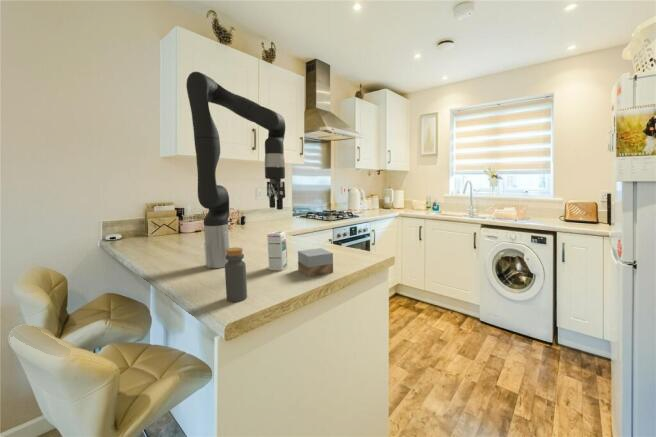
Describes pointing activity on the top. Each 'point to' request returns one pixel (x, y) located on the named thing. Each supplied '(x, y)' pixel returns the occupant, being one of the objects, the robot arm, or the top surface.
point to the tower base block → (315, 269)
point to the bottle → (235, 275)
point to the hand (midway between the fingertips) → (276, 208)
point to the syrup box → (277, 251)
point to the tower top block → (315, 257)
